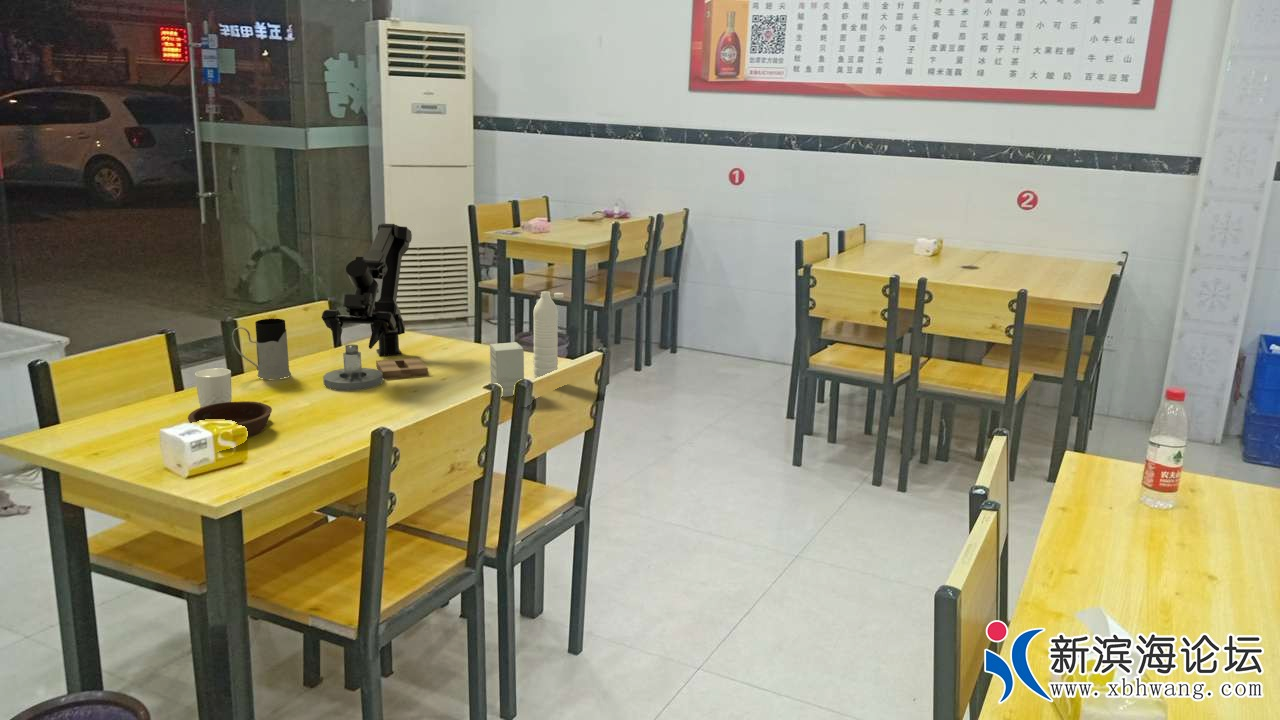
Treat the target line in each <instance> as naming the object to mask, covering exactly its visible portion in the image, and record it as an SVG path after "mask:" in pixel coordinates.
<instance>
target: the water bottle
mask: <svg viewBox="0 0 1280 720" xmlns="http://www.w3.org/2000/svg"><path fill="white" fill-rule="evenodd" d="M540 293H541V294H540V298H539V299H538V301H537V302H536V304H535V306H534V308H533V316H532V317H533V379H534V378H537V377H540V376H543V375H545V374H547V373H550V372H552V371H554V370H557V369H559V367H558V364H559V363H558V362H559V360H558V356H559V354H558V352H559V347H558V343H559V338H558V337H559V334H558V333H559V329H558V326H559V325H558V323H559V322H558V321H559V320H558V319H559V318H558V317H559V309H558V307H557V305H556V304H555V302H554V300H553V299H552V298H551V292H550V291H549V290H548V291H547V290H544V291H541V292H540ZM553 295H554V296H553V297H554V298H557V299H558V298H559V299H560V298H561V299H563V298H564V297H565V296H564V292H554V293H553Z"/></svg>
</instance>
